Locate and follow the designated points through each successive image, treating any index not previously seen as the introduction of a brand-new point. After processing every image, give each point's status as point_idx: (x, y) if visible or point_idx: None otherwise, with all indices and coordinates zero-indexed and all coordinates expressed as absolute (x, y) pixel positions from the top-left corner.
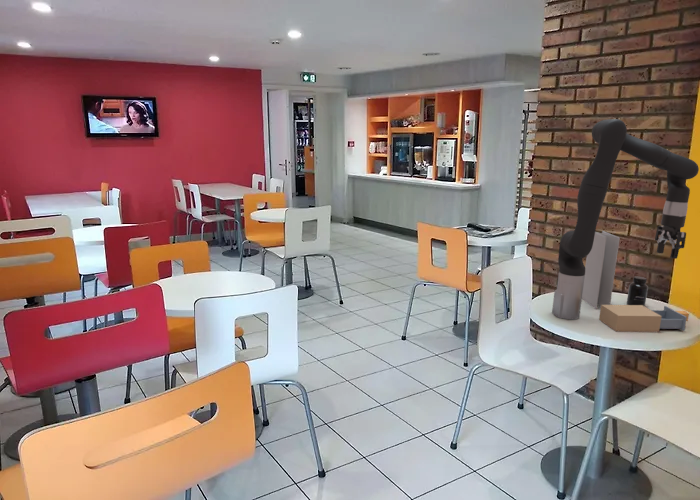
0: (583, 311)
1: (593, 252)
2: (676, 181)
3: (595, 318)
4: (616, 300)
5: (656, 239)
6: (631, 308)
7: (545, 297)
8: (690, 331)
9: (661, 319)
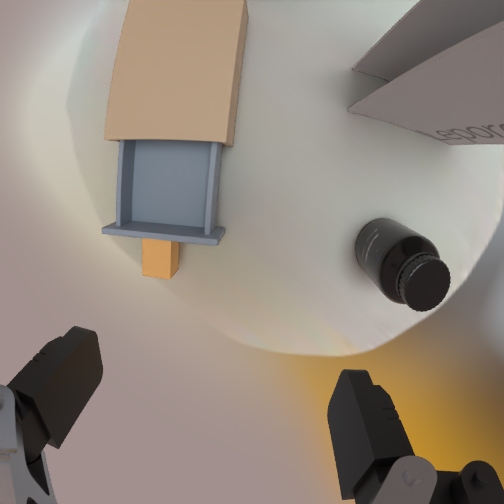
0: (329, 16)
1: None
2: None
3: (260, 12)
4: (429, 212)
5: (464, 482)
6: (190, 72)
7: None
8: (131, 246)
9: (119, 148)
